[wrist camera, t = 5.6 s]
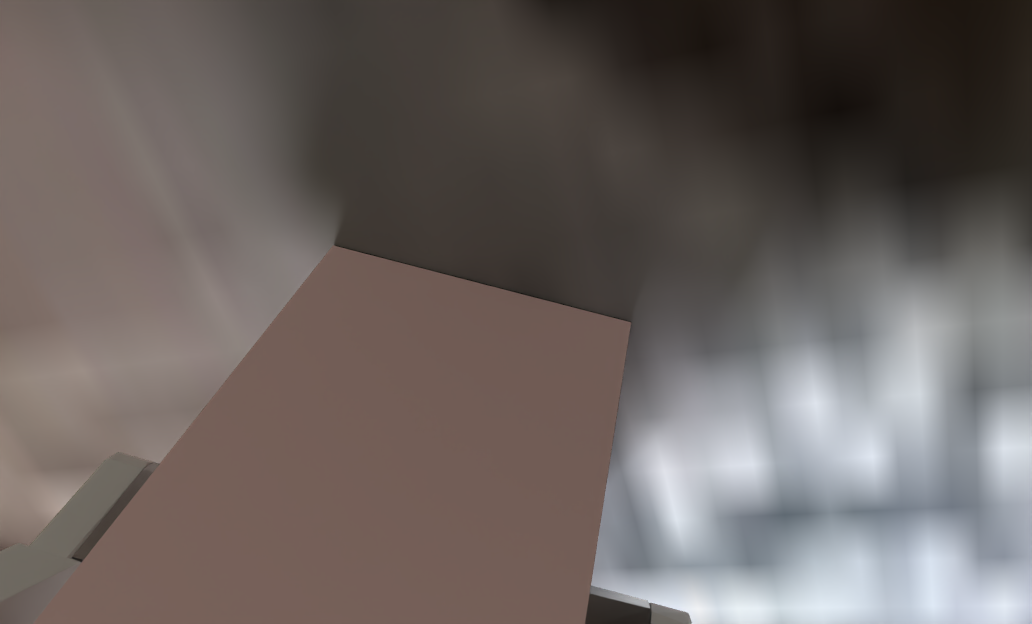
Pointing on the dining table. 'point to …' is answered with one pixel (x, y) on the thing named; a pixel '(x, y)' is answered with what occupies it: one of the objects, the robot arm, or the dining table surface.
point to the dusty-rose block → (378, 466)
